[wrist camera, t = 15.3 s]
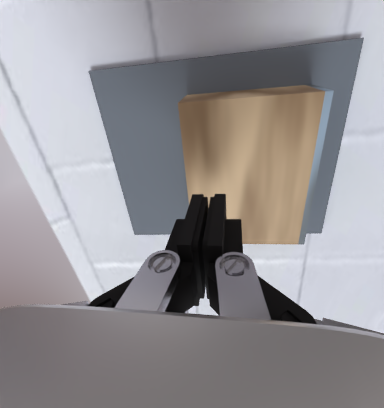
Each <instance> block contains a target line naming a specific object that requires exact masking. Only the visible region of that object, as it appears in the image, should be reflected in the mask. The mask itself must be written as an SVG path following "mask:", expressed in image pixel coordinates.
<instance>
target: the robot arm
mask: <svg viewBox="0 0 384 408" xmlns="http://www.w3.org/2000/svg"><path fill="white" fill-rule="evenodd" d="M205 287H206V291H207V299H209V300H210V306H211V307H212V308H213V309H214V310H215V312H216V313H217V314H218V315H219V316H214V315H201V314H188V313H189V312H188V309H190V308H191V307H193V306H199V300H200V298H203V299H204V294H205ZM0 408H384V334H383V333H380V332H376V331H372V330H368V329H364V328H360V327H357V326H353V325H349V324H345V323H341V322H337V321H334V320H330V319H326V318H323V320H322V321H321V320H317V319H314V318H313V317H312V316H311V315H310V314H309V313H308V312H307V311H306V310H304V309H303V308H302V307H300V306H299V305H298V304H296V303H295V302H293V301H292V300H291V299H289V298H288V297H286V296H285V295H284V294H282V293H281V292H280V291H278V290H277V289H275V288H274V287H273V286H271V285H270V284H268V283H267V282H266V281H264V280H263V279H262V278H260V277H259V276H257V273H256V269H255V266H254V263H253V261H252V259H250V258H249V257H248V256H247V255H245V254H243V245H242V223H241V219H227V216H226V194H215V196H214V197H210V203H209V207H208V197H204V195H203V194H192V197H191V200H190V204H189V207H188V210H187V213H186V216H185V219H176V221H175V224H174V227H173V229H172V232H171V235H170V238H169V240H168V243H167V246H166V248H165V250H162V251H157V252H155V253H153V254H151V255H150V256H149V257H148V258H147V259H146V260H145V262H144V263H143V265H142V266H141V268H140V269H139V271H138V272H137V274H136V276H135V277H133V278H131V279H129V280H128V281H126V282H124V283H122V284H120V285H119V286H117V287H115V288H113V289H111V290H110V291H108V292H106V293H104V294H102V295H101V296H99V297H97V298H96V299H94V300H93V301H92V302H91V303H90V304H88V302H87V301H83V302H76V303H69V304H62V305H55V304H30V305H17V306H11V307H4V308H1V309H0Z"/></svg>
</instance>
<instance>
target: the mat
mask: <svg viewBox="0 0 384 408" xmlns="http://www.w3.org/2000/svg"><path fill="white" fill-rule="evenodd" d="M363 39H364V38H357V39H349V40H341V41H332V42H324V43H316V44H308V45H299V46H291V47H283V48H275V49H267V50H258V51H250V52H242V53H234V54H225V55H217V56H209V57H201V58H192V59H184V60H176V61H168V62H159V63H151V64H143V65H135V66H126V67H118V68H110V69H102V70H93V71H89V74H90V78H91V81H92V85H93V89H94V92H95V96H96V99H97V103H98V106H99V110H100V113H101V117H102V121H103V124H104V128H105V131H106V135H107V138H108V142H109V145H110V149H111V153H112V156H113V160H114V163H115V167H116V170H117V174H118V177H119V181H120V185H121V188H122V192H123V195H124V199H125V202H126V206H127V210H128V213H129V217H130V220H131V224H132V227H133V231H134V234H135V235H161V234H171V232H172V229H173V227H174V224H175V221H176V219H185V216H186V213H187V210H188V207H189V200H188V191H187V182H186V173H185V164H184V155H183V146H182V137H181V128H180V119H179V110H178V102H179V101H181V100H182V99H183V98H184V97H185V96H186V95H192V94H204V93H216V92H227V91H239V90H251V89H263V88H275V87H287V86H299V85H311V84H312V85H315V86H319V87H323V88H326V89H330V90H333V91H334V92H333V98H332V103H331V108H330V113H329V118H328V123H327V129H326V134H325V139H324V144H323V149H322V154H321V159H320V165H319V170H318V175H317V180H316V185H315V190H314V196H313V201H312V206H311V211H310V216H309V221H308V226H307V232H306V233H321V232H322V228H323V223H324V219H325V214H326V209H327V205H328V200H329V196H330V191H331V186H332V182H333V177H334V173H335V168H336V163H337V159H338V154H339V150H340V145H341V140H342V136H343V131H344V127H345V122H346V117H347V113H348V108H349V104H350V99H351V94H352V90H353V85H354V81H355V76H356V71H357V67H358V62H359V58H360V53H361V49H362V44H363Z"/></svg>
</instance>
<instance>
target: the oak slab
mask: <svg viewBox="0 0 384 408" xmlns="http://www.w3.org/2000/svg"><path fill="white" fill-rule="evenodd" d="M333 92H334V91H333V90H330V89H326V88H323V87H319V86H315V85H312V84H311V85H299V86H287V87H275V88H263V89H251V90H239V91H227V92H216V93H204V94H192V95H186V96H185V97H184V98H183V99H182V100H181V101H179V102H178V110H179V119H180V128H181V137H182V146H183V155H184V164H185V173H186V182H187V191H188V200H189V204H190V200H191V197H192V194H203V195H204V197H208V207H209V203H210V197H214V196H215V194H226V216H227V219H241V223H242V244H304V242H305V237H306V232H307V226H308V221H309V216H310V211H311V206H312V201H313V196H314V190H315V185H316V180H317V175H318V170H319V165H320V159H321V154H322V149H323V144H324V139H325V134H326V129H327V123H328V118H329V113H330V108H331V103H332V98H333Z"/></svg>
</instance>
